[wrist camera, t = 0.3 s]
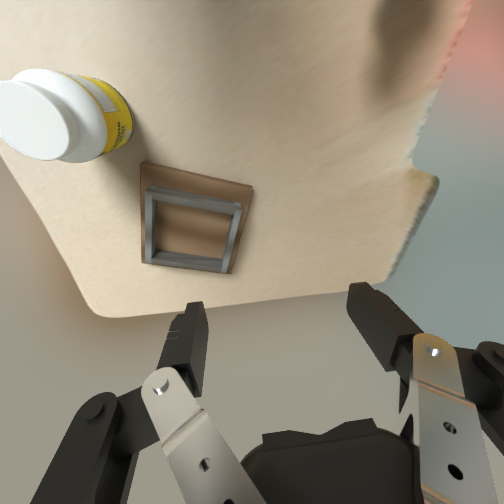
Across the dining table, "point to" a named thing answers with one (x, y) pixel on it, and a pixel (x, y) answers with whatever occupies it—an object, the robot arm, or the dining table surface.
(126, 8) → the dining table surface
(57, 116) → the pill bottle
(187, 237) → the collar board
